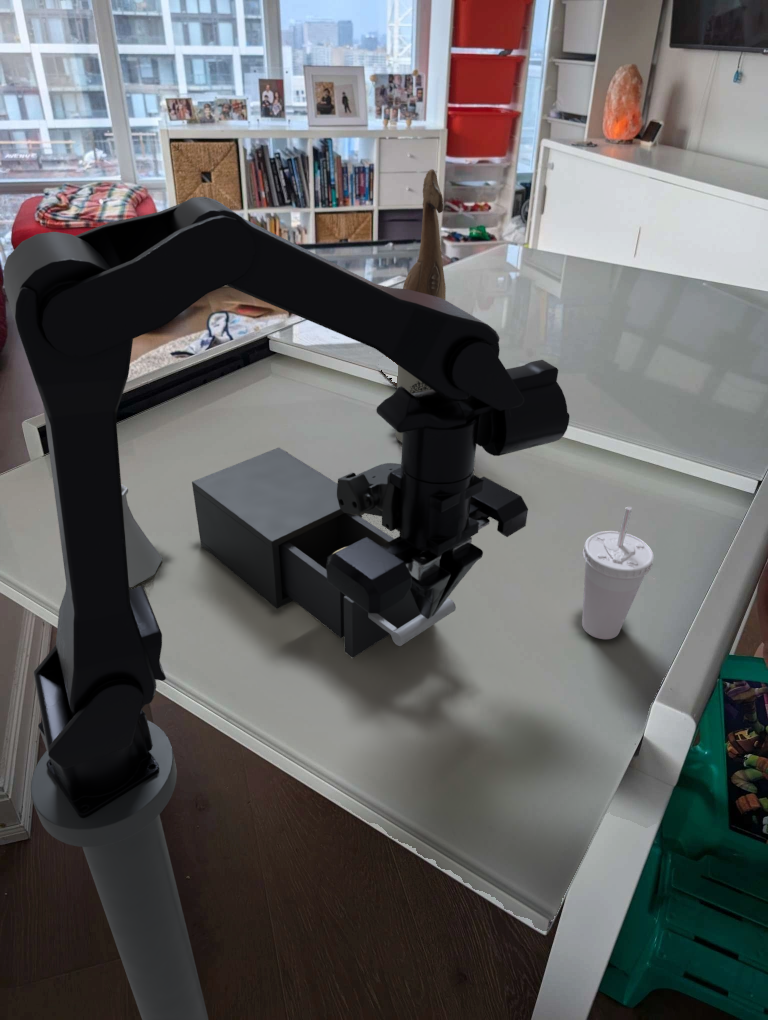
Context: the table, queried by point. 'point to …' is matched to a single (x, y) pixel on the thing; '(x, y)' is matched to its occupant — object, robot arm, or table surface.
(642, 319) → the table surface
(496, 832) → the table surface
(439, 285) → the bird sculpture
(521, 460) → the table surface
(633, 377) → the table surface
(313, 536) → the drawer
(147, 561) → the flask
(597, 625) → the smoothie
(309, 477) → the mini filing cabinet
